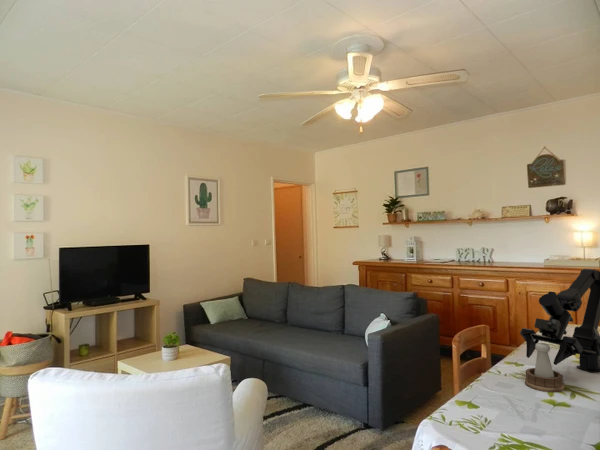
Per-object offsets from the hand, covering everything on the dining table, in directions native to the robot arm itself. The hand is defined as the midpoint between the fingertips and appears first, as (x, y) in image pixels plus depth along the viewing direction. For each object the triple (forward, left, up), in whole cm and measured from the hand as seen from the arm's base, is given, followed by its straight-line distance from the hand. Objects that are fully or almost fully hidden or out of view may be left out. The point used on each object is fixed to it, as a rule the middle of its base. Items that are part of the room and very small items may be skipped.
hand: (540, 360), depth 136 cm
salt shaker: (-2, 0, -8) cm, 8 cm away
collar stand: (-1, 0, -9) cm, 9 cm away
